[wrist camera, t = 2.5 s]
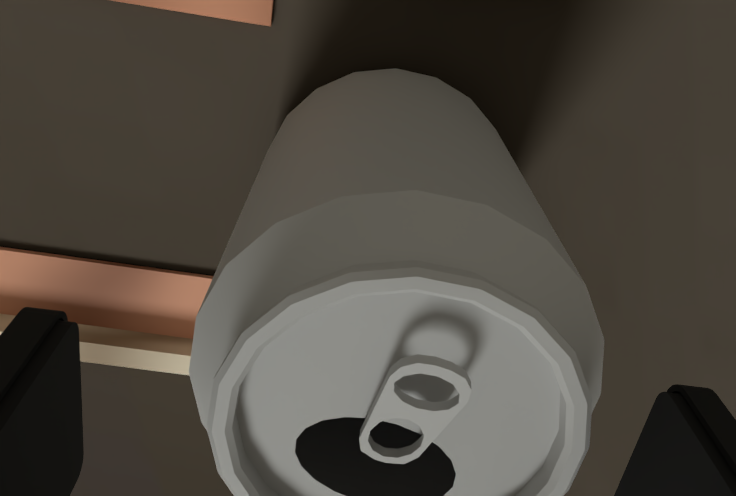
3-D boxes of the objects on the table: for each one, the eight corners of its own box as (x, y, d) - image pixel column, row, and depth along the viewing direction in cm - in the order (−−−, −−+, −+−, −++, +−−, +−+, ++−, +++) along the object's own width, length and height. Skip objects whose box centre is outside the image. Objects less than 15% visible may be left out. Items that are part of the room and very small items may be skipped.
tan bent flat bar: (594, -49, 19) (639, -41, 16) (472, 390, 25) (486, 458, 22) (-378, -219, 17) (-547, -249, 14) (-241, 297, 24) (-335, 357, 20)
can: (236, 242, 23) (115, 542, 12) (313, 21, 20) (243, 155, 9) (444, 314, 24) (504, 646, 13) (547, 117, 21) (737, 338, 10)
